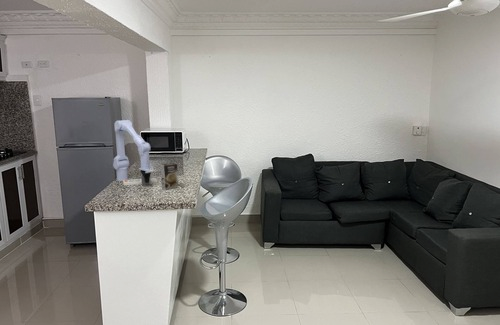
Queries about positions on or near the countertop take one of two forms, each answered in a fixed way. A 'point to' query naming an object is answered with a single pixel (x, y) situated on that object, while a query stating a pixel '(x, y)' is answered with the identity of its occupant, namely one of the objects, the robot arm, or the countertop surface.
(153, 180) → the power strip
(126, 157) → the robot arm
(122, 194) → the countertop surface
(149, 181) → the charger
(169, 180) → the coffee box
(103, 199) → the countertop surface
